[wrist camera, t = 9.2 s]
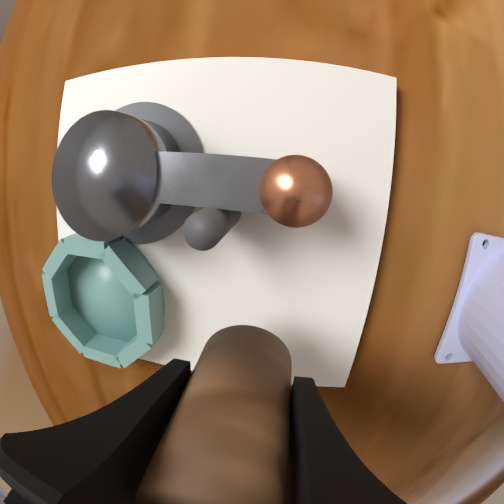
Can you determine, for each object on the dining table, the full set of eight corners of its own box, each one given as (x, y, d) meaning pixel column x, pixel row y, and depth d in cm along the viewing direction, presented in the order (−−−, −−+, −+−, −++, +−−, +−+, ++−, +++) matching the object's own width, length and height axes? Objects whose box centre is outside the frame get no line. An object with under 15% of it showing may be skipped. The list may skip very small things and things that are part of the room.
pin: (298, 331, 10) (297, 508, 4) (284, 398, 11) (273, 545, 5) (202, 318, 11) (118, 470, 4) (203, 387, 12) (149, 521, 5)
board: (390, 82, 11) (434, 47, 6) (342, 378, 15) (354, 440, 11) (73, 83, 12) (16, 68, 8) (81, 333, 17) (39, 371, 12)
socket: (162, 237, 13) (146, 247, 11) (168, 359, 15) (156, 378, 13) (57, 227, 14) (36, 234, 12) (73, 333, 16) (57, 346, 14)
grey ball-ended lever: (91, 221, 13) (48, 236, 10) (96, 122, 12) (51, 116, 9) (311, 248, 12) (319, 275, 9) (326, 130, 11) (341, 116, 8)
